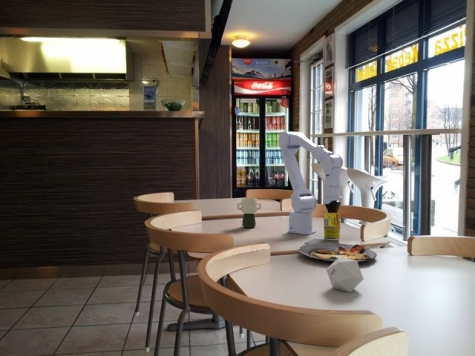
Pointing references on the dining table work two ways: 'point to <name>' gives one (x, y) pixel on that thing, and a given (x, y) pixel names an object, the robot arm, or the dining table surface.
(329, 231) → the supplement box
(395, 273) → the dining table surface
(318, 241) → the mat
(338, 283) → the die
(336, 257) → the food plate
